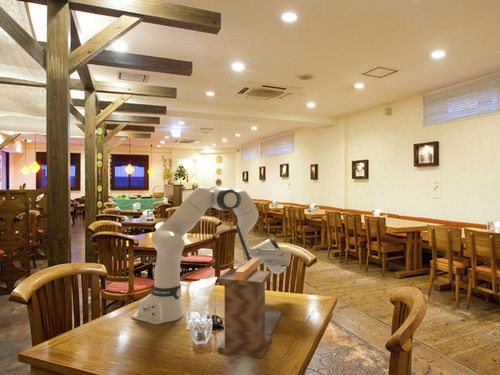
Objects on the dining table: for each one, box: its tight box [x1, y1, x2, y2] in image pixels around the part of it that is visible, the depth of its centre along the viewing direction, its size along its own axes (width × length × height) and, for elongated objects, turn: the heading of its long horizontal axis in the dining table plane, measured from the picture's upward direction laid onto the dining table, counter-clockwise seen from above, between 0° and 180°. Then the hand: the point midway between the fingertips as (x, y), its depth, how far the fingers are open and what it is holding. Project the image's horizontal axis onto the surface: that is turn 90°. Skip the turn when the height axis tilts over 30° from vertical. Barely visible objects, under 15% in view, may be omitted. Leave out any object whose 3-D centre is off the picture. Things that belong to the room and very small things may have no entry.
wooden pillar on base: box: [217, 268, 272, 359], centre depth 121 cm, size 16×14×26 cm
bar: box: [235, 258, 261, 281], centre depth 124 cm, size 3×22×3 cm, turn 163°
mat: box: [265, 308, 283, 337], centre depth 141 cm, size 14×24×1 cm, turn 163°
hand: (266, 249), depth 152 cm, fingers open, 8 cm apart
